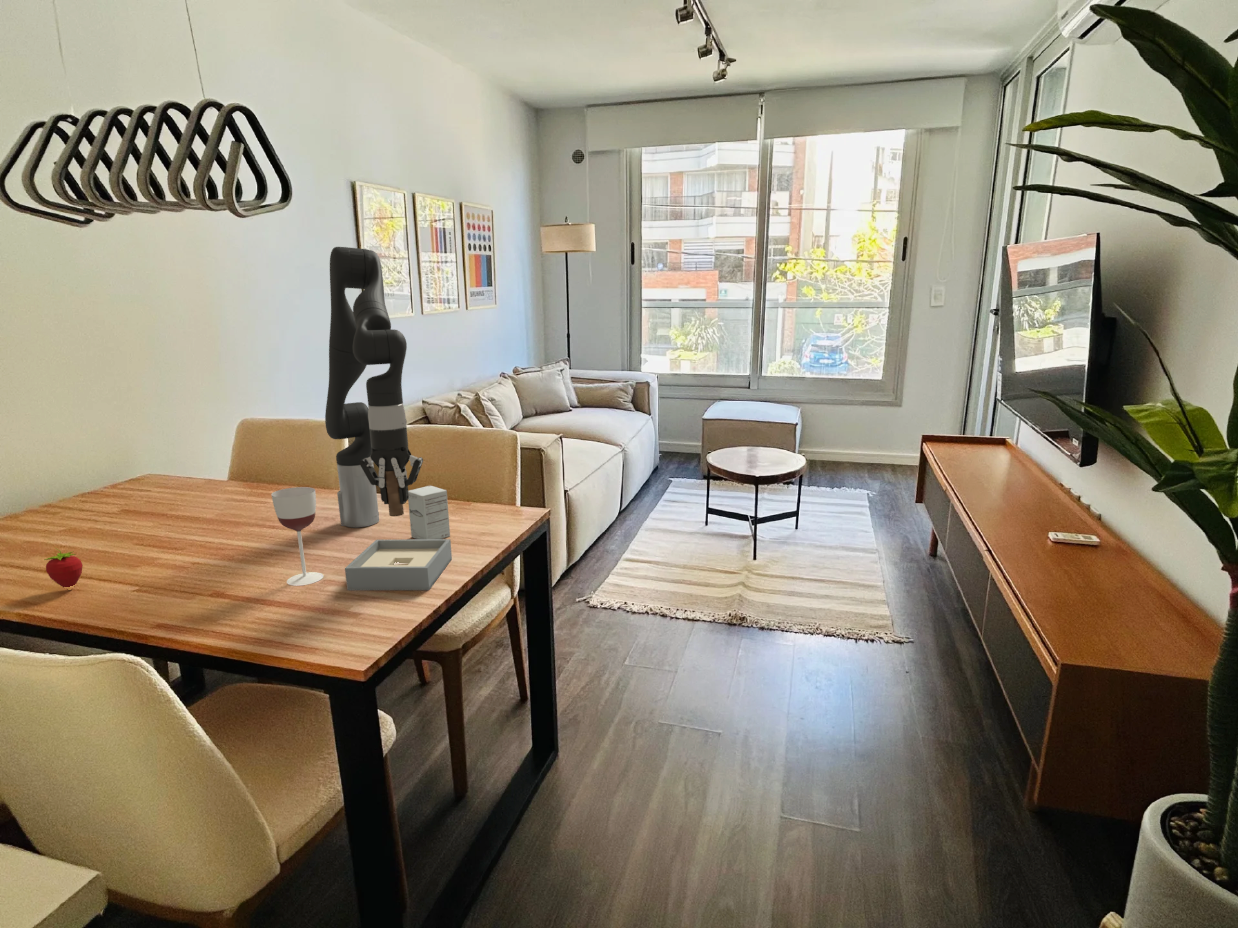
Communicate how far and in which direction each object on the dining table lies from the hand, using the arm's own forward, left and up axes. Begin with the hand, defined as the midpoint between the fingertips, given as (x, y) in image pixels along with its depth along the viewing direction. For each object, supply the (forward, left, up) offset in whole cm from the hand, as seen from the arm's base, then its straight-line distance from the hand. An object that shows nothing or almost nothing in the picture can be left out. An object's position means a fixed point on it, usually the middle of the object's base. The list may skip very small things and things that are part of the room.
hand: (395, 502), depth 151 cm
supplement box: (-1, +25, -17) cm, 30 cm away
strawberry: (-70, -8, -17) cm, 73 cm away
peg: (0, 0, -3) cm, 3 cm away
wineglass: (-21, -2, -17) cm, 27 cm away
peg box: (0, 0, -17) cm, 17 cm away
